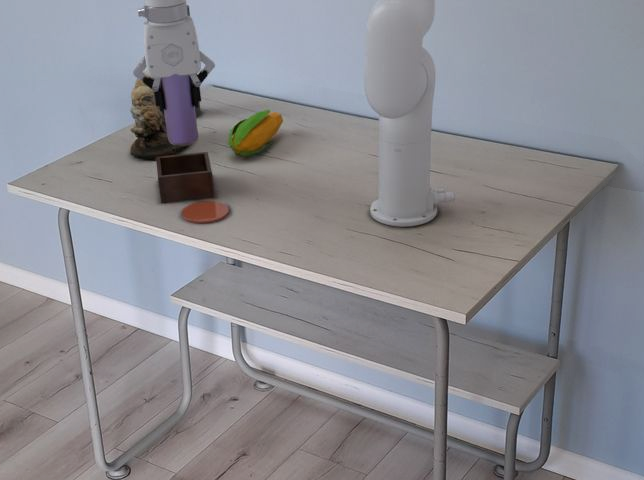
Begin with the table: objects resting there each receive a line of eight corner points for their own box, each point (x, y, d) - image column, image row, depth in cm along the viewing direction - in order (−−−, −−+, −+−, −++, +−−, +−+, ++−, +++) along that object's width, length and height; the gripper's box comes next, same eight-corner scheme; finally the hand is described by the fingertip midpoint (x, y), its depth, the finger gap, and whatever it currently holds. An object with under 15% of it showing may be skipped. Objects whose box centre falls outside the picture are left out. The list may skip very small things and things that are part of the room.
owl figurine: (163, 166, 218) (153, 87, 209) (116, 159, 222) (105, 82, 213) (204, 135, 231) (197, 61, 222) (159, 129, 236) (150, 56, 226)
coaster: (226, 201, 202) (226, 198, 202) (230, 220, 194) (230, 218, 194) (180, 205, 201) (180, 203, 201) (183, 225, 194) (183, 223, 193)
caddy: (210, 176, 212) (207, 151, 209) (214, 197, 204) (211, 171, 201) (159, 181, 211) (155, 156, 208) (161, 203, 202) (157, 177, 199)
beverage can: (193, 147, 198) (184, 71, 190) (164, 146, 200) (153, 71, 192) (202, 135, 203) (193, 61, 195) (173, 135, 205) (163, 61, 196)
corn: (218, 126, 215) (264, 95, 229) (219, 159, 219) (264, 127, 234) (249, 133, 212) (293, 101, 227) (249, 167, 216) (293, 133, 231)
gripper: (119, 22, 184) (134, 119, 194) (215, 13, 186) (225, 108, 195) (119, 12, 190) (134, 106, 200) (211, 2, 192) (221, 96, 202)
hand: (179, 106), depth 198 cm, fingers closed on beverage can, 6 cm apart
